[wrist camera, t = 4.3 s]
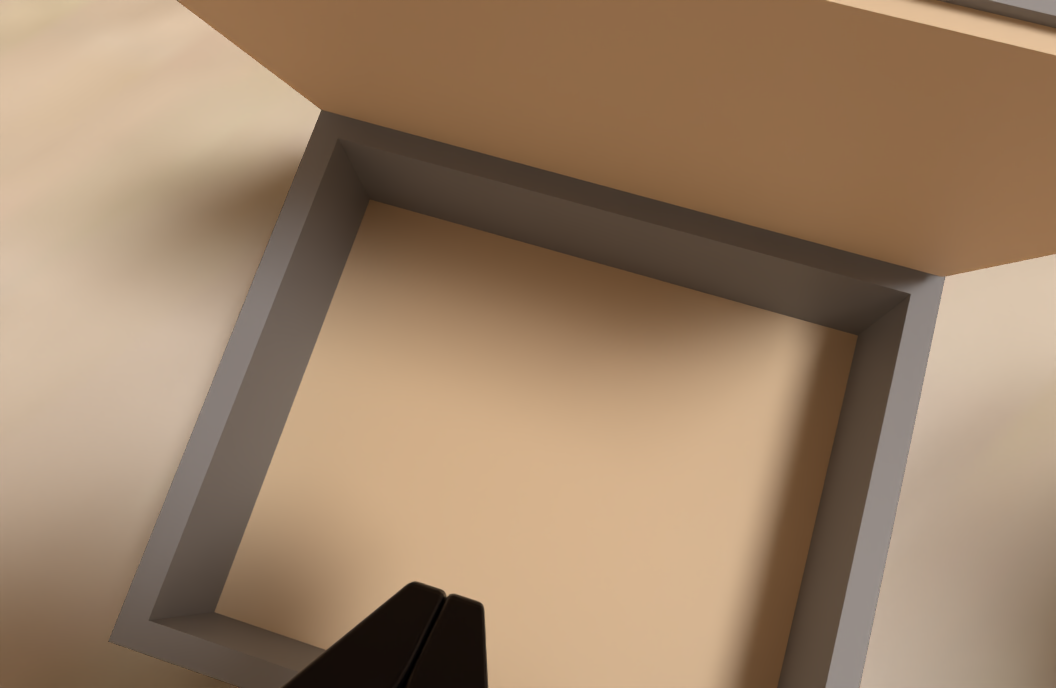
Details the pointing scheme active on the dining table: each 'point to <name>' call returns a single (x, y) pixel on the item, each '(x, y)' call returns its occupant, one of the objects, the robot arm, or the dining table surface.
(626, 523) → the box
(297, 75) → the mailer lid
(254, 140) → the dining table surface
